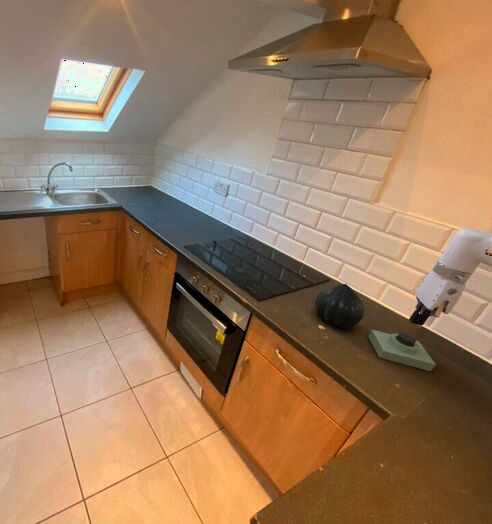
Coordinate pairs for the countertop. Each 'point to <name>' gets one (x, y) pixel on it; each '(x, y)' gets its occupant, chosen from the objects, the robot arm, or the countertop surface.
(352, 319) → the squash
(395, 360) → the knob plate
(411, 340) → the button
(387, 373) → the countertop surface
